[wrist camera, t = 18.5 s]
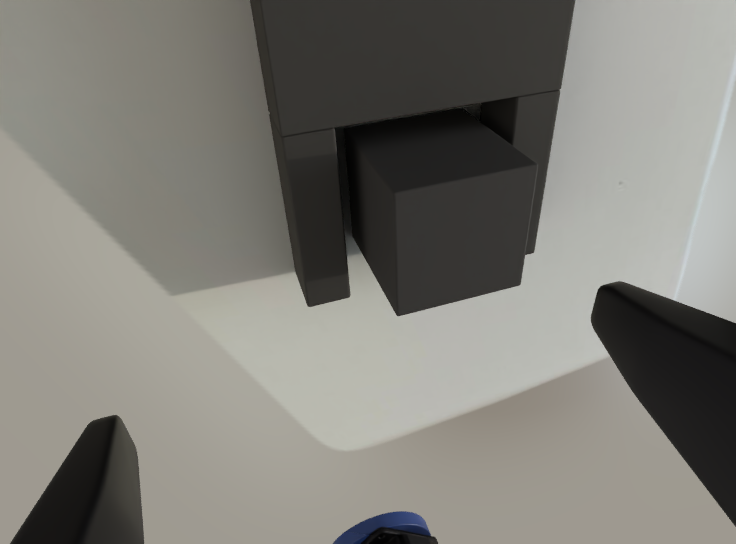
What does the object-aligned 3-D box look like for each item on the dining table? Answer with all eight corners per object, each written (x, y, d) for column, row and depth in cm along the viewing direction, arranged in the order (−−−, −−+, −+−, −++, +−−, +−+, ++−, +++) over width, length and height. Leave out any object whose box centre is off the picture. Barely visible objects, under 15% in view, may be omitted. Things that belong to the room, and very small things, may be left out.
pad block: (455, 214, 24) (521, 285, 19) (352, 237, 23) (397, 317, 18) (461, 107, 21) (539, 163, 16) (343, 127, 20) (393, 193, 15)
